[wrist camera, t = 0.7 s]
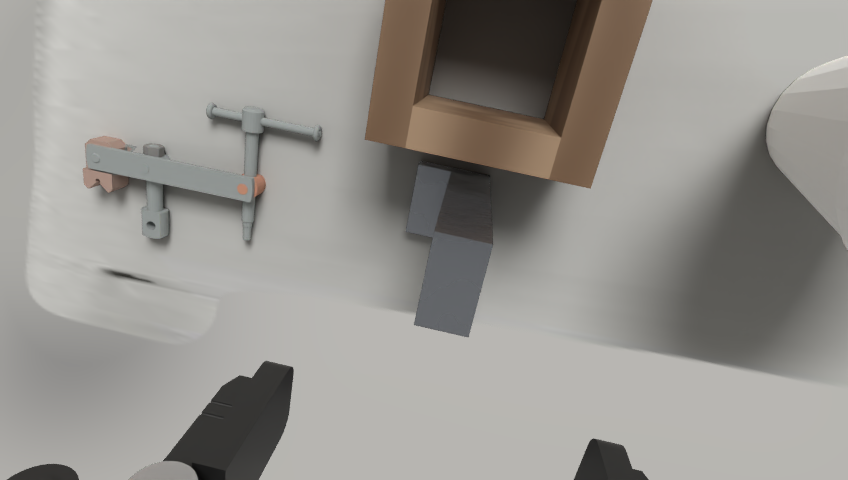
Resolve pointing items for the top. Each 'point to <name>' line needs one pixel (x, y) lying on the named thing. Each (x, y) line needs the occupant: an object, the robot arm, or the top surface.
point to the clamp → (184, 169)
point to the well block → (496, 129)
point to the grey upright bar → (451, 244)
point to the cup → (815, 139)
